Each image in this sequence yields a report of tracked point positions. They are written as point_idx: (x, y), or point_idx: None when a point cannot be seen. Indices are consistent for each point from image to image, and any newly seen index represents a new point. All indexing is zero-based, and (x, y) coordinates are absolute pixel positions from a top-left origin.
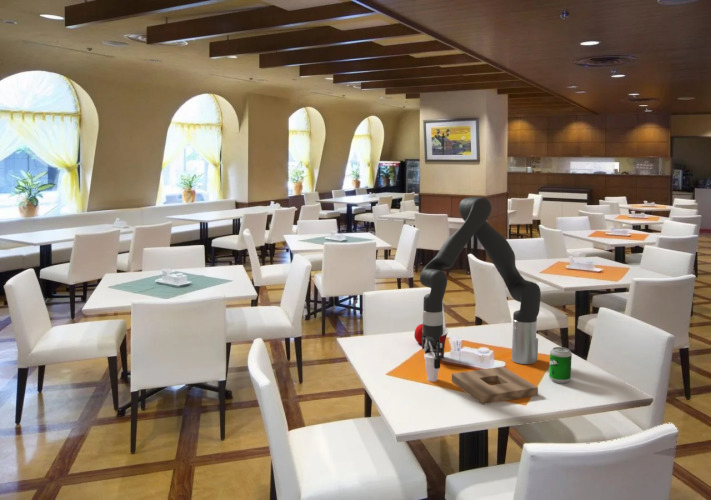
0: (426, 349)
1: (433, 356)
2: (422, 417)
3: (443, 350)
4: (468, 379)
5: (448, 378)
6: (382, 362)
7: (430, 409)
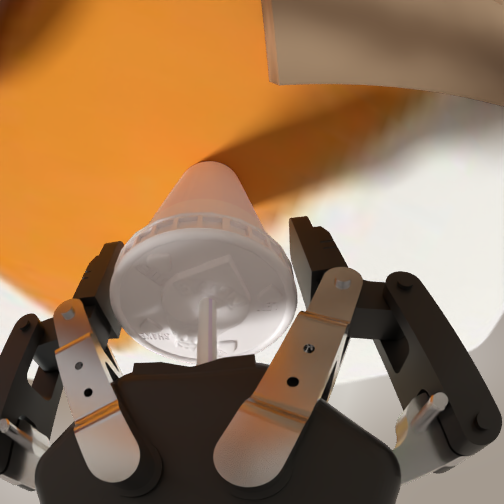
0: (117, 366)
1: (245, 313)
2: (478, 308)
3: (460, 349)
4: (416, 36)
5: (208, 82)
6: (9, 328)
7: (466, 283)
